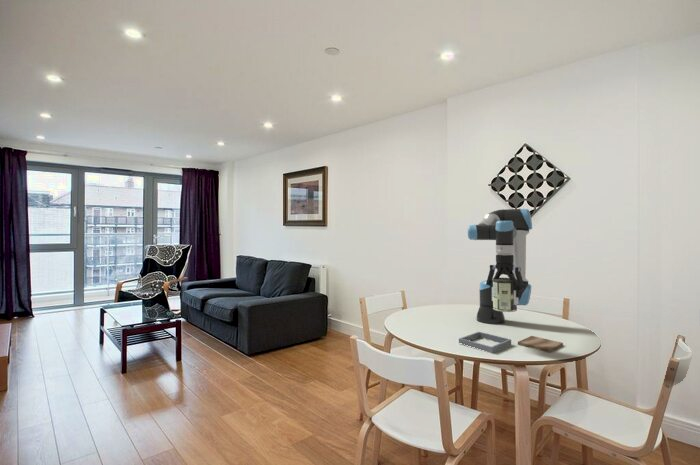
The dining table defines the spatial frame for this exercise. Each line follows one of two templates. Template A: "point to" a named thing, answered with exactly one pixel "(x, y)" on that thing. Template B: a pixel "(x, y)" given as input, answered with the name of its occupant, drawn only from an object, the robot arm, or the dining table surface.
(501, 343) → the grey flat open frame
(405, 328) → the dining table surface
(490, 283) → the robot arm
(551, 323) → the dining table surface
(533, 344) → the walnut board
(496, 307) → the coffee can
